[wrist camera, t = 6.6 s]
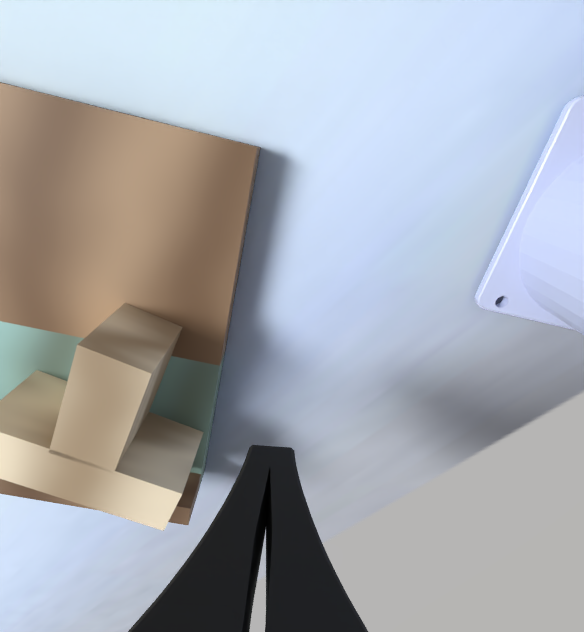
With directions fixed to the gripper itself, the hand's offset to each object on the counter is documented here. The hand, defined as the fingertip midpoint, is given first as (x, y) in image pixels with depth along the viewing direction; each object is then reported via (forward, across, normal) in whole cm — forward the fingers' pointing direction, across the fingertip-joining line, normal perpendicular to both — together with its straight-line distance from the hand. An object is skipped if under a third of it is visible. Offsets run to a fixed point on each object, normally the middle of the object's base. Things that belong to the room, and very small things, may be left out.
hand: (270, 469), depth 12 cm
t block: (+5, +7, +1) cm, 8 cm away
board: (+6, +10, -2) cm, 12 cm away
